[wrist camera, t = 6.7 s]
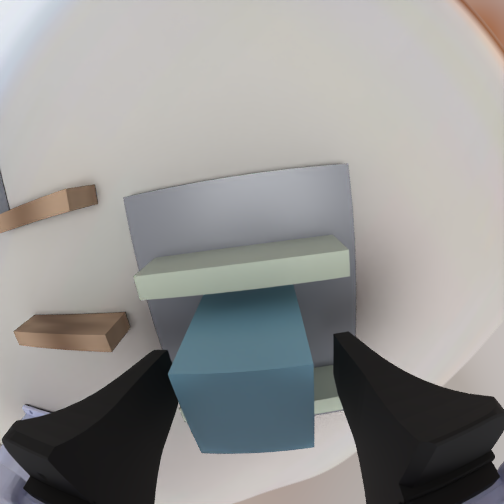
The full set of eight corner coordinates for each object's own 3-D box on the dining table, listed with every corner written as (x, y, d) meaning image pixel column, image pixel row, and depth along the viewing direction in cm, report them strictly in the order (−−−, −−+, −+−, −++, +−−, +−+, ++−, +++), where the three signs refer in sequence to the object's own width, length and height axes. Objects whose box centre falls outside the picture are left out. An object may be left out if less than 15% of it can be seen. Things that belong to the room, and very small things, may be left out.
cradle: (39, 327, 15) (19, 345, 13) (6, 215, 13) (-20, 222, 11) (130, 327, 15) (111, 351, 12) (94, 184, 13) (65, 188, 10)
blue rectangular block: (220, 361, 14) (201, 453, 8) (205, 291, 13) (167, 374, 7) (298, 353, 14) (314, 447, 8) (292, 281, 13) (313, 364, 7)
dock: (193, 414, 16) (183, 452, 13) (130, 195, 13) (94, 204, 10) (347, 400, 16) (359, 438, 13) (343, 163, 12) (368, 161, 9)
